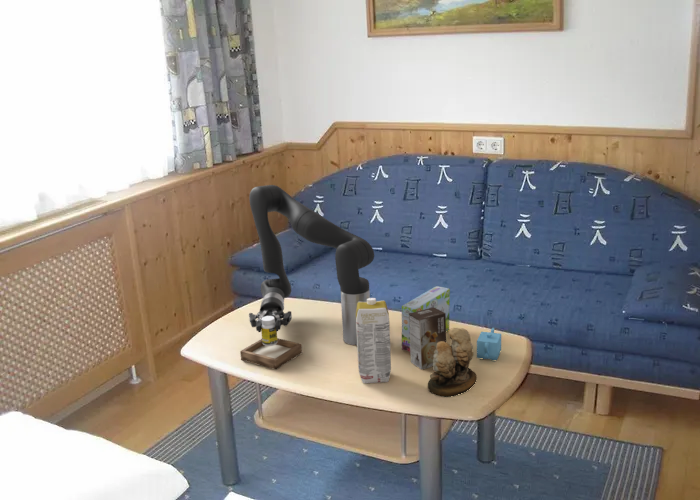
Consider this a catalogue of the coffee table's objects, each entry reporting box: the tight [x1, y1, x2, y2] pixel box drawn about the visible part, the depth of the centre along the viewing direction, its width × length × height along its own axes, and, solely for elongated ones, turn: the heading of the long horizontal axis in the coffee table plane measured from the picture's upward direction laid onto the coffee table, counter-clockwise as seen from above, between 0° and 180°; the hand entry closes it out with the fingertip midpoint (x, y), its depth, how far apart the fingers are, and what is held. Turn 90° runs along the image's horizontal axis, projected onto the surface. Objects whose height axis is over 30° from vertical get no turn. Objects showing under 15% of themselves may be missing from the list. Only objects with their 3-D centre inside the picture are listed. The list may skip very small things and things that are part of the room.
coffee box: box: [409, 307, 447, 370], centre depth 215 cm, size 9×6×16 cm
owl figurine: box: [427, 327, 478, 398], centre depth 202 cm, size 18×12×17 cm, turn 142°
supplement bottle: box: [260, 316, 278, 346], centre depth 224 cm, size 5×5×8 cm
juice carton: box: [356, 297, 392, 384], centre depth 206 cm, size 9×8×24 cm
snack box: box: [401, 285, 451, 353], centre depth 230 cm, size 21×6×15 cm, turn 143°
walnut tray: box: [239, 337, 303, 370], centre depth 226 cm, size 14×13×3 cm
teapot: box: [476, 327, 502, 361], centre depth 219 cm, size 12×6×8 cm, turn 159°
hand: (267, 328), depth 221 cm, fingers closed on supplement bottle, 4 cm apart
